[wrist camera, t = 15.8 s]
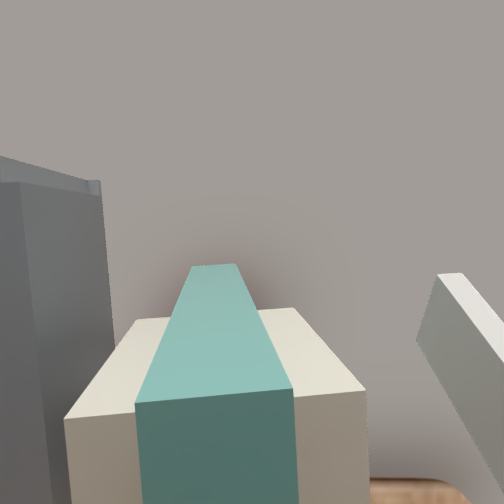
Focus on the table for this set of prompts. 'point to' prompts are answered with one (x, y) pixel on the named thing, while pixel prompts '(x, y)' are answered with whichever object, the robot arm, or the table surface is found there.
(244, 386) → the lid bar
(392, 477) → the table surface
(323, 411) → the beige tall block
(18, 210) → the tall grey bin
